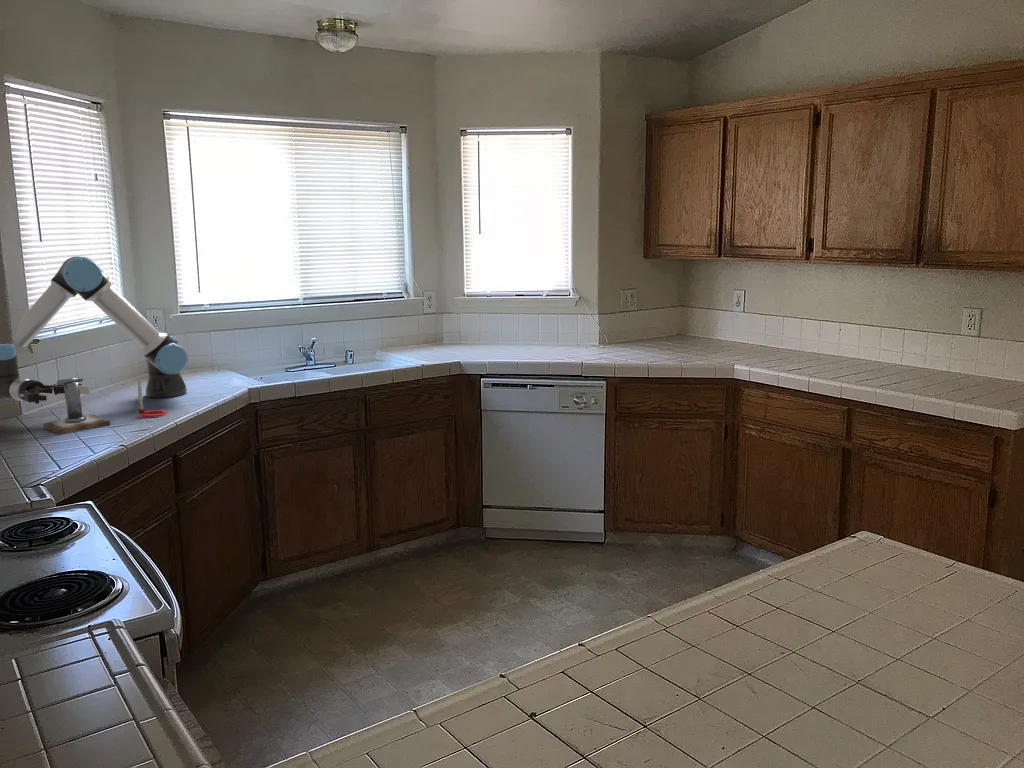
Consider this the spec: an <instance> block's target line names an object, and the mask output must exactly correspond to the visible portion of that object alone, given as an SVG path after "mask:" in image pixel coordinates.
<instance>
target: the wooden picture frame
mask: <svg viewBox="0 0 1024 768" xmlns="http://www.w3.org/2000/svg"><path fill="white" fill-rule="evenodd" d="M85 416H86V420H85V421H82V422H76V423H66V422H65V418H64V419H58V420H52V421H49V422H44V423H43V424H42V425H43V428H44V429H46V430H48V431H50V430H51V431H50V432H53V433H55V434H57V435H62V434H69V433H73V432H78V431H85V430H90V429H95V428H94V427H96V428H101V427H106V426H105V425H107V426H111V423H110V420H109V419H106V418H104V417H100V416H98V415H96V414H87V415H85ZM100 426H101V427H100ZM89 428H90V429H89ZM84 429H85V430H84Z"/></svg>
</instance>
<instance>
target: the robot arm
mask: <svg viewBox="0 0 1024 768" xmlns="http://www.w3.org/2000/svg"><path fill="white" fill-rule="evenodd" d="M77 295H79V296H80V297H81V298H82V299H83V300H84V301H86V302H93V303H94V304H95V305H96V307H98V308H99V309H100V310H101V311H102V312H103V313H104V314H105V315H106V316H107V317H108V318H110V320H112V322H114V323H115V324H116V325H117V326H118V327H119V328H120V329H121V330H122V331H124V332H125V333H126V334H127V336H128V337H130V338H131V339H132V340H133V341H134V342H135V343H136V344H137V345H138V346H139V347H141V349H142V350H141V351H142V356H144V357H145V358H146V362H147V372H148V373H147V374H148V378H147V383H146V388H145V397H146V396H147V398H150V397H154V398H153V399H161V398H160V397H166V398H173V397H179V396H182V395H183V396H184V395H186V394H188V390H187V386H186V383H185V381H184V379H183V377H182V374H181V372H182V371H183V370H184V369H186V367H187V365H188V362H189V356H188V353H187V351H186V349H185V347H183V346H181V345H180V344H179V342H178V339H177V337H176V336H175V335H173V336H170V335H169V334H168V333H167V332H160V331H159V330H158V329H157V328H156V327H155V326H154V325H153V324H152V323H151V322H150V321H149V320H148V319H147V318H146V317H145V316H144V315H143V314H142V313H140V312H139V310H137V309H136V308H135V306H133V305H132V304H131V303H130V302H129V301H128V300H127V298H125V297H124V296H123V295H122V294H121V293H120V292H119V291H118V290H117V289H116V288H115V287H114V286H112V278H111V277H110V276H109V275H107V274H106V272H104V270H103V269H101V266H100V265H99V264H98V263H97V262H96V261H95V260H93V259H91V258H89V257H88V256H87V257H85V256H78V255H77V256H73V257H69V258H68V259H66V260H65V261H64V262H62V265H61V266H60V268H59V270H58V271H57V272H56V273H55V275H54V276H53V277H52V278H51V280H50V285H49V286H48V287H47V289H46V290H45V291H44V292H43V293H42V294H41V295H40V297H38V299H37V300H36V301H34V304H32V305H31V307H30V308H28V310H27V311H26V313H24V315H23V316H22V317H21V318H22V319H21V318H20V319H21V320H20V319H19V320H20V322H19V321H18V322H19V325H18V327H17V331H16V337H15V338H16V339H15V344H16V345H18V346H21V347H26V346H27V345H28V344H29V343H30V342H31V343H32V342H33V340H34V339H35V338H36V337H37V336H38V335H39V334H40V333H41V331H43V329H44V328H45V327H46V326H47V325H48V323H49V322H50V321H51V320H52V319H53V318H54V317H55V315H57V313H58V312H59V311H60V310H61V309H62V307H63V306H64V305H65V304H66V303H67V302H68V301H69V300H70V298H75V297H76V296H77ZM31 343H30V344H31ZM30 344H29V345H30ZM29 345H28V346H29ZM28 346H27V347H28ZM27 347H26V348H27ZM19 371H20V370H19V365H18V358H17V352H16V348H15V345H14V344H10V343H5V344H0V400H5V401H19V402H20V401H21V402H22V403H26V402H27V403H31V404H32V403H34V404H36V405H38V404H40V402H44V403H57V398H56V396H57V395H60V394H61V395H62V394H65V391H64V384H63V385H58V384H57V383H55V384H52V385H51V384H50V385H49V384H44V383H43V382H41V381H40V380H37V379H28V378H27V379H26V378H25V379H24V378H20V372H19ZM79 391H80V395H91V394H92V388H91V386H90V385H83V384H82V383H79Z"/></svg>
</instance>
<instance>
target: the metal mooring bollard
mask: <svg viewBox="0 0 1024 768" xmlns="http://www.w3.org/2000/svg"><path fill="white" fill-rule="evenodd" d="M82 382H83V377H82V376H78V377H71V378H64V379H59V380H57V381H56V384H58V385H63V384H64V391H65V393H64V398H65V405H66V413H67V417H64V419H65V422H66V423H76V422H82V421H85V420H86V415H83V409H82V408H83V407H82V400H81V394H80V391H79V384H80V383H82Z"/></svg>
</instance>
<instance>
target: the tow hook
mask: <svg viewBox="0 0 1024 768" xmlns="http://www.w3.org/2000/svg"><path fill="white" fill-rule="evenodd" d="M137 382H138V383H137V384H138V386H137V393H138V401H137V403H138V404H137V405H138V409H137V410H138V416H137V417H138V418H139V419H143V418H156V417H155V416H161V417H163V416H162V415H165V414H167V415H168V411H167V410H161V409H153V410H144V401H143V390H142V383H141V382H142V381H141V380H140V379H139V380H138V381H137ZM156 412H159V413H156ZM150 413H151V414H150ZM165 416H166V415H165Z"/></svg>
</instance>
